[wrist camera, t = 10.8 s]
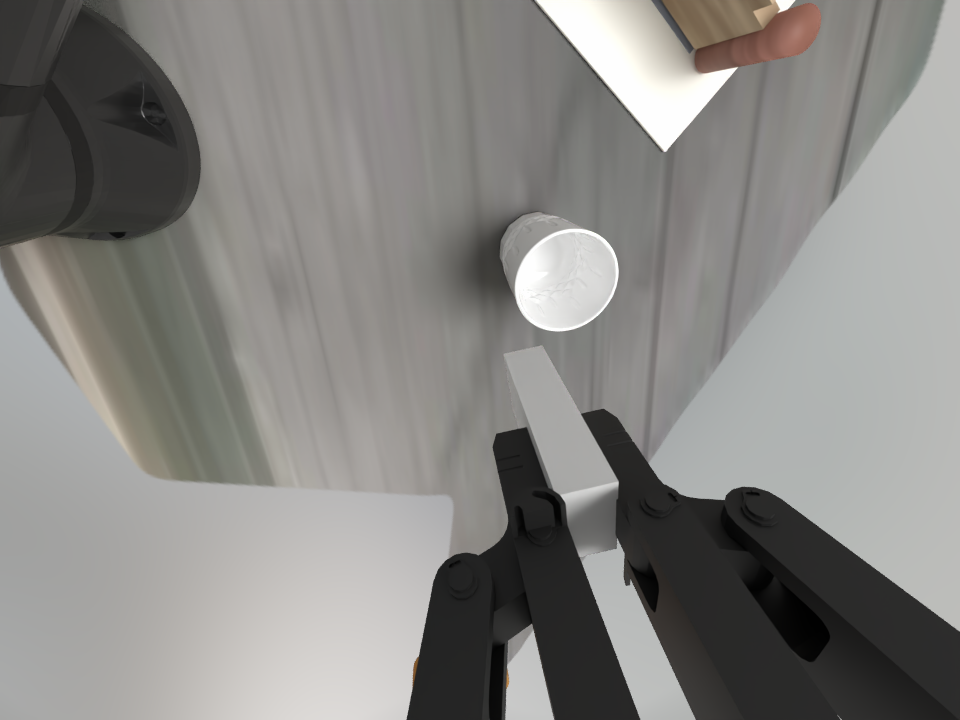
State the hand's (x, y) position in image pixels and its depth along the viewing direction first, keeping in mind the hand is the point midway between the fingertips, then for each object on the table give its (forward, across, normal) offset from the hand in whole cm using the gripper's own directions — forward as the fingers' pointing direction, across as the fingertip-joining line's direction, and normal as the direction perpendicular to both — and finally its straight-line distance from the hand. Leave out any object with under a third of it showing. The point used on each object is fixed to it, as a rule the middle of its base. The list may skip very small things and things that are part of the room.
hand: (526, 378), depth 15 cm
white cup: (+24, +6, -3) cm, 25 cm away
